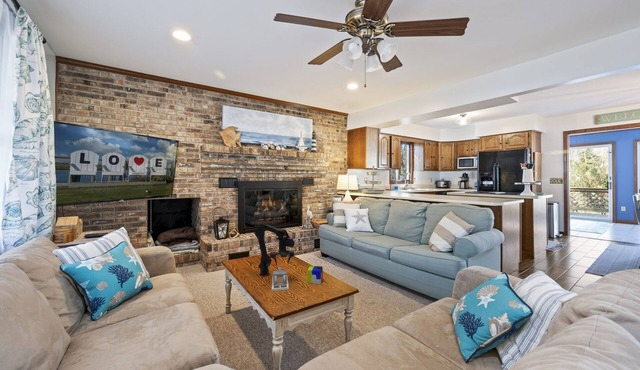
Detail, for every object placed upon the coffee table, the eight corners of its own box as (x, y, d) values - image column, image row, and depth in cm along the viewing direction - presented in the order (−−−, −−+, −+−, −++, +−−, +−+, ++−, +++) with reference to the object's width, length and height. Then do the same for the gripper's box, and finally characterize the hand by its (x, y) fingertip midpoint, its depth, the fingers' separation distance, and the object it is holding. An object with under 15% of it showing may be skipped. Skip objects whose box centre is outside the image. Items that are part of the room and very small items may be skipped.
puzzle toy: (320, 283, 205) (320, 271, 204) (307, 282, 207) (307, 270, 206) (322, 278, 214) (322, 266, 214) (310, 277, 216) (310, 265, 216)
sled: (284, 284, 200) (284, 273, 200) (276, 284, 199) (275, 274, 199) (283, 276, 215) (283, 266, 215) (276, 276, 214) (276, 267, 214)
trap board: (288, 289, 195) (288, 287, 195) (271, 290, 193) (271, 288, 193) (287, 276, 218) (287, 275, 218) (272, 278, 217) (272, 276, 216)
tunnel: (286, 284, 200) (286, 273, 200) (273, 285, 198) (273, 274, 198) (286, 280, 207) (286, 270, 206) (273, 281, 205) (273, 270, 205)
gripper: (271, 249, 202) (271, 269, 203) (296, 247, 207) (295, 267, 208) (269, 245, 212) (269, 264, 213) (293, 243, 218) (292, 262, 219)
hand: (282, 264), depth 213 cm, fingers open, 9 cm apart
